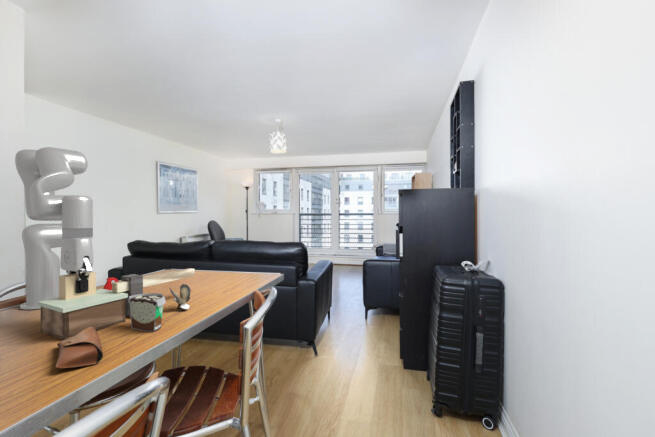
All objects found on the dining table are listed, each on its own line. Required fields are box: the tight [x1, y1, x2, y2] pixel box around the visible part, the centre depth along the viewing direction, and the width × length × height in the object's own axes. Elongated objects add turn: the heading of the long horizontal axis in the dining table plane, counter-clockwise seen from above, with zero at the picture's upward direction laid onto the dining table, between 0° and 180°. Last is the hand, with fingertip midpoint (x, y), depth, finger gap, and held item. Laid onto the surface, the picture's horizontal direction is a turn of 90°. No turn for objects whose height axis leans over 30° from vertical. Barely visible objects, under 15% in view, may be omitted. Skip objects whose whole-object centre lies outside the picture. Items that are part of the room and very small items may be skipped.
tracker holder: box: [102, 276, 119, 291], centre depth 118 cm, size 12×4×10 cm, turn 168°
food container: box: [128, 292, 166, 333], centre depth 91 cm, size 12×6×10 cm, turn 71°
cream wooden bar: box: [112, 267, 196, 293], centre depth 110 cm, size 3×30×3 cm, turn 154°
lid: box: [38, 271, 128, 313], centre depth 91 cm, size 15×17×8 cm
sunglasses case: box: [55, 327, 104, 369], centre depth 73 cm, size 18×7×7 cm
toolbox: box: [40, 273, 144, 341], centre depth 94 cm, size 14×22×14 cm, turn 154°
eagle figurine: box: [169, 283, 192, 312], centre depth 107 cm, size 8×7×9 cm
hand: (78, 290), depth 93 cm, fingers closed on lid, 4 cm apart
